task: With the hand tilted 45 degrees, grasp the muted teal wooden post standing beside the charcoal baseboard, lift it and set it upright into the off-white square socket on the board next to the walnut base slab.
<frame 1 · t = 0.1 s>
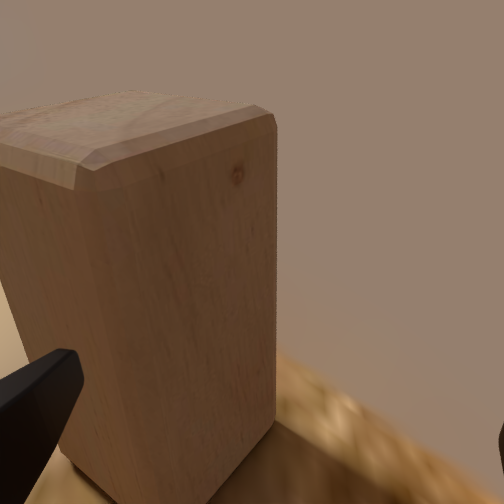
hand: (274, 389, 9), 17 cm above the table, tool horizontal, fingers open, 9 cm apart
wooden block: (172, 440, 28), on the table
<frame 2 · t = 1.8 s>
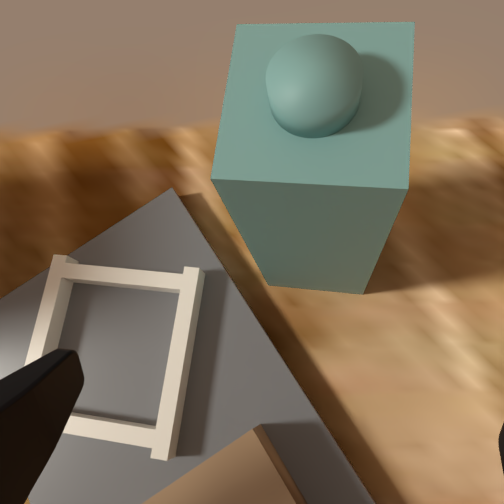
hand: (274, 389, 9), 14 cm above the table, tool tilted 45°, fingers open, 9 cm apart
baseboard: (155, 409, 23), on the table
teal post: (318, 245, 24), on the table
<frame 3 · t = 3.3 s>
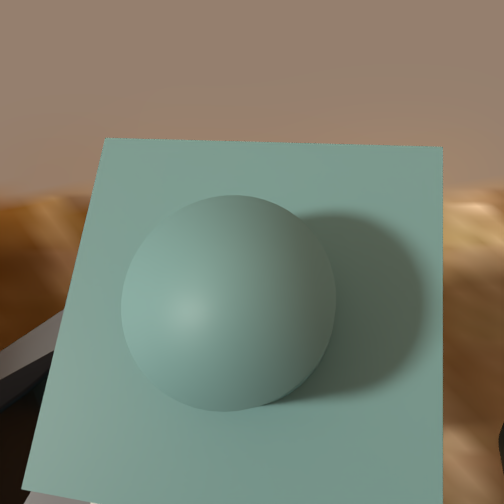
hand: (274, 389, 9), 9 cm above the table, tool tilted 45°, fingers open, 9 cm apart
teal post: (296, 363, 18), on the table
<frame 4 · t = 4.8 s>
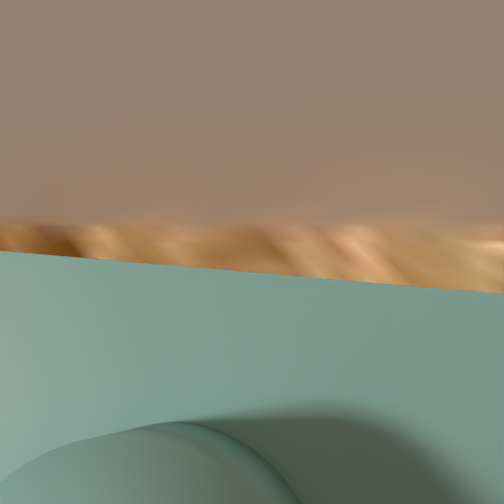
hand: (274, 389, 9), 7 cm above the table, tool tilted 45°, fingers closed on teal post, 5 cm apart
teal post: (291, 428, 16), on the table, touching gripper
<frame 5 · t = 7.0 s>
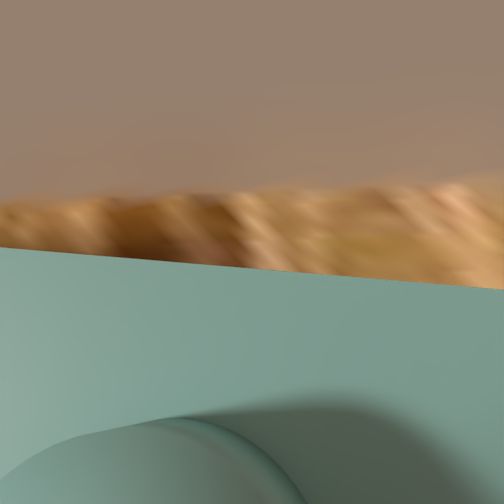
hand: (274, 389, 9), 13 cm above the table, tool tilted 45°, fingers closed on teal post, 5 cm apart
teal post: (292, 428, 16), point 6 cm above the table, touching gripper
when the fingers open (9 cm above the table, at t = 9.2 s): teal post stays where it is, resting on baseboard.
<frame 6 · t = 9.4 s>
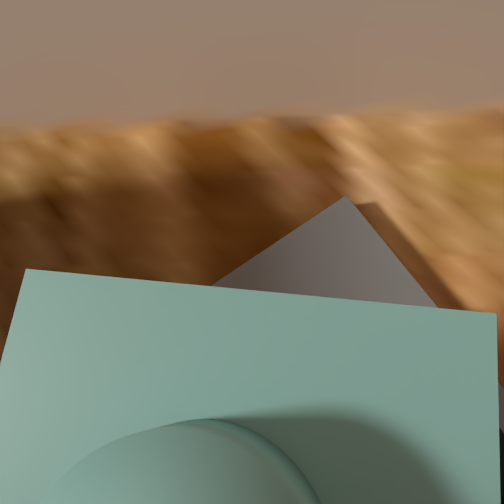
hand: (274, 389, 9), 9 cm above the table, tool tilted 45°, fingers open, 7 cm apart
teal post: (294, 426, 16), point 1 cm above the table, touching baseboard
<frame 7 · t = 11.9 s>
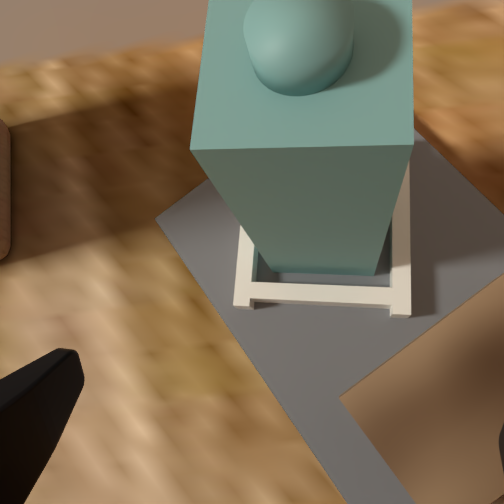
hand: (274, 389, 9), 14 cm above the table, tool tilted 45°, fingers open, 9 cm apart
walnut base slab: (457, 391, 21), resting on baseboard
baseboard: (366, 283, 23), on the table
teal post: (324, 226, 23), point 1 cm above the table, touching baseboard
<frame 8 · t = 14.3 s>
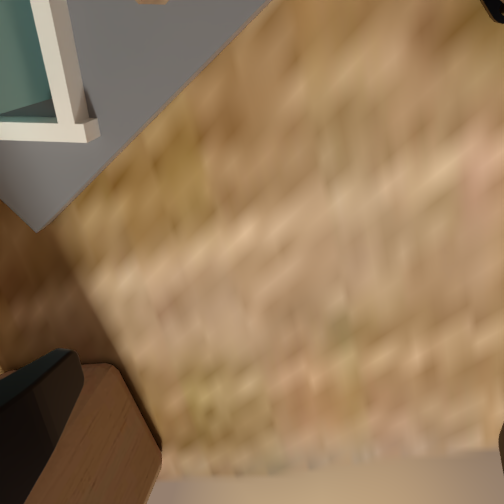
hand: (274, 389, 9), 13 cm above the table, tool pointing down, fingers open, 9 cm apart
wooden block: (88, 410, 32), on the table
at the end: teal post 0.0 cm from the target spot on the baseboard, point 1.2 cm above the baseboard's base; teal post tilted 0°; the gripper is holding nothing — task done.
